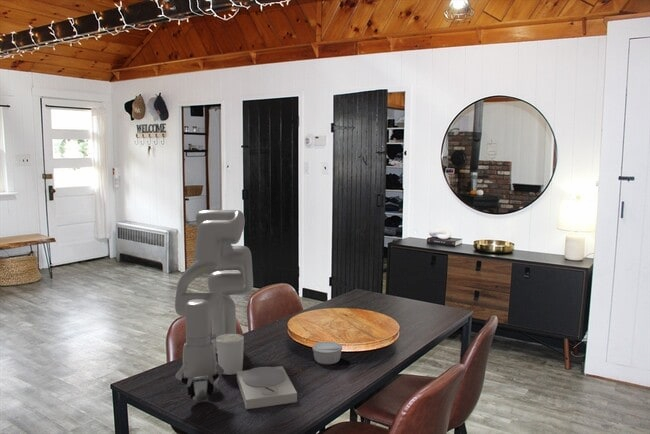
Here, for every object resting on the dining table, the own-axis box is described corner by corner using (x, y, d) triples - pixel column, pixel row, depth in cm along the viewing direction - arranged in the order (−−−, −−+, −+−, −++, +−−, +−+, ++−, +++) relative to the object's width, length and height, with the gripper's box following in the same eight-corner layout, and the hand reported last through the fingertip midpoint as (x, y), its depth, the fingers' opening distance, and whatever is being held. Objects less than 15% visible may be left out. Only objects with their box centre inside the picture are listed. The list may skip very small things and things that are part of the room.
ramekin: (325, 368, 191) (325, 354, 190) (306, 359, 199) (306, 345, 199) (348, 360, 198) (348, 347, 197) (329, 352, 206) (329, 339, 206)
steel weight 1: (192, 394, 166) (191, 376, 165) (208, 392, 167) (207, 374, 166) (193, 401, 161) (192, 383, 160) (209, 399, 162) (209, 381, 162)
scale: (236, 379, 181) (236, 368, 180) (282, 374, 185) (282, 363, 185) (246, 409, 160) (245, 396, 159) (297, 402, 164) (297, 389, 164)
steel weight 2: (203, 388, 174) (202, 371, 173) (218, 386, 176) (217, 369, 175) (204, 395, 169) (203, 377, 169) (220, 392, 171) (219, 375, 170)
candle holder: (218, 377, 183) (217, 344, 182) (216, 366, 192) (215, 334, 191) (246, 374, 186) (245, 341, 184) (243, 363, 195) (242, 332, 194)
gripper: (225, 332, 168) (227, 386, 170) (169, 338, 163) (172, 393, 165) (228, 341, 160) (229, 397, 163) (170, 347, 156) (172, 405, 158)
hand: (200, 394), depth 164 cm, fingers closed on steel weight 1, 5 cm apart
